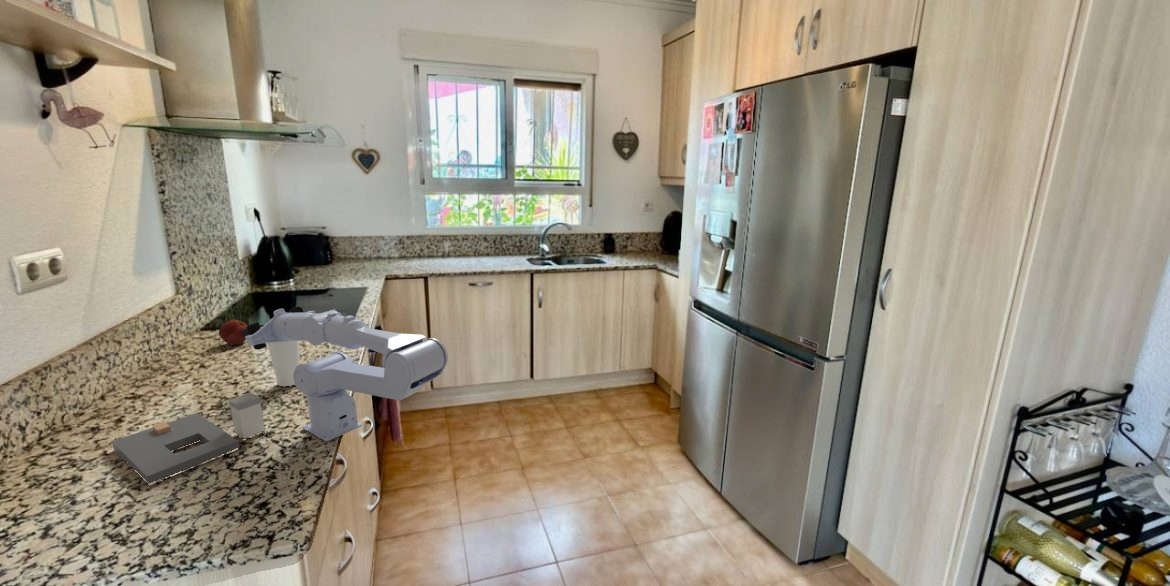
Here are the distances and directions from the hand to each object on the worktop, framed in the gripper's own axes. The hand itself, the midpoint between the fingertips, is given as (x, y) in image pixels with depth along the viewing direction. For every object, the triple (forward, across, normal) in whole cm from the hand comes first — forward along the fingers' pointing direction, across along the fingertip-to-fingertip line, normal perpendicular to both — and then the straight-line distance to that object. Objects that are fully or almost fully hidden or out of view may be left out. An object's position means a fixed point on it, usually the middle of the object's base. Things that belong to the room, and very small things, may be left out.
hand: (261, 327), depth 110 cm
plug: (-5, +12, +19) cm, 23 cm away
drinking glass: (+12, -7, +19) cm, 23 cm away
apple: (+55, -18, +13) cm, 59 cm away
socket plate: (+2, +22, +17) cm, 28 cm away
